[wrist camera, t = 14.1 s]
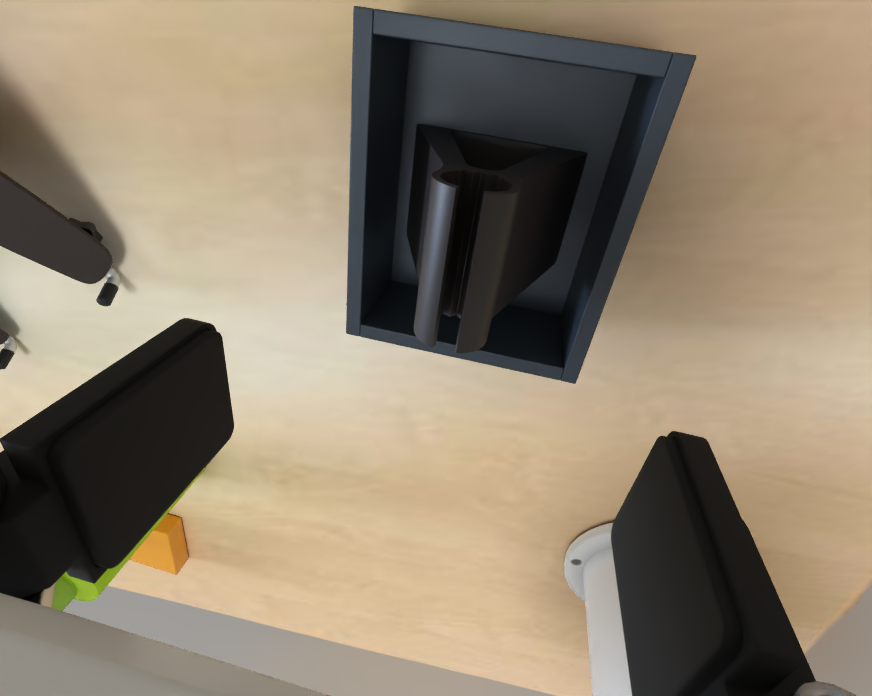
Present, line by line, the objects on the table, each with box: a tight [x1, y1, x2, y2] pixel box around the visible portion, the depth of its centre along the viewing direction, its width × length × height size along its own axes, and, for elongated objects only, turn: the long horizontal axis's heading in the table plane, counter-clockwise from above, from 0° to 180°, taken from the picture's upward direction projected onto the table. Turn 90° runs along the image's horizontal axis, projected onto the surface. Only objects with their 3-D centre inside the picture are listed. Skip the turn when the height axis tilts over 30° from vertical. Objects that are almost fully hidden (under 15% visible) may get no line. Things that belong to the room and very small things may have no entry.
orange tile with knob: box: [129, 514, 188, 575], centre depth 51 cm, size 8×8×4 cm
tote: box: [346, 6, 696, 384], centre depth 23 cm, size 13×15×7 cm
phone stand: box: [406, 124, 588, 353], centre depth 21 cm, size 9×6×12 cm, turn 82°
